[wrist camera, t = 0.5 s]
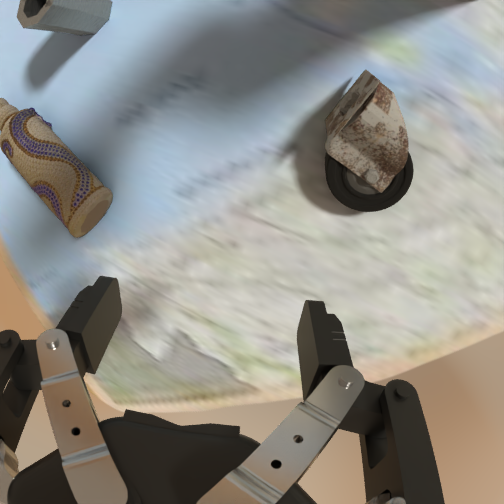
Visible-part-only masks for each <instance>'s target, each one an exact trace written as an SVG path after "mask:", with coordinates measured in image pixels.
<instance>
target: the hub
mask: <svg viewBox="0 0 504 504" xmlns="http://www.w3.org/2000/svg"><path fill="white" fill-rule="evenodd" d="M111 6H112V1H111V0H20V4H19V9H18V13H17V18H18V20H19V22H20V23H21V25H22V27H23V28H28V29H37V30H46V31H54V32H61V33H67V34H74V35H80V36H83V35H88V34H96V33H97V32H98V31H99V29H100V28H101V27H102V26H103V25H104V24H105V23H106V22H107V21H108V20H109V17H110V11H111Z"/></svg>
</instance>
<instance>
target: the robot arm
mask: <svg viewBox="0 0 504 504" xmlns="http://www.w3.org/2000/svg"><path fill="white" fill-rule="evenodd" d="M121 314H122V303H121V297H120V290H119V283H118V280H117V278H112V277H105V276H100V277H99V278H98V279H97V281H96V282H95V284H94V285H93V286H87V287H86V288H84V289H83V290H82V291H80V292H79V294H78V295H77V297H76V298H75V301H73V303H72V304H71V306H70V307H69V309H68V310H67V312H66V313H65V315H64V316H63V318H62V319H61V321H60V322H59V324H58V325H57V327H56V329H50V330H47V331H45V332H43V333H42V334H41V335H40V336H39V337H38V339H37V340H21V339H20V337H19V334H18V333H17V332H15V331H13V330H5V331H2V332H0V504H317V503H316V502H315V501H314V500H313V499H312V498H311V497H310V496H309V495H308V494H307V493H306V492H305V491H304V490H303V489H302V488H301V487H300V486H299V484H298V481H299V480H300V479H301V478H302V477H303V475H304V474H305V473H306V472H307V470H308V469H309V468H310V466H311V465H312V464H313V462H314V461H315V460H316V458H317V457H318V456H319V454H320V453H321V452H322V450H323V449H324V448H325V446H326V445H327V444H328V442H329V441H330V440H331V438H332V437H333V435H334V434H335V432H336V431H337V430H338V429H342V430H346V431H350V432H354V433H358V434H359V437H360V445H361V453H362V462H363V471H364V481H365V491H366V503H365V504H445V503H444V498H443V493H442V488H441V483H440V478H439V474H438V469H437V465H436V461H435V456H434V452H433V448H432V444H431V441H430V436H429V432H428V429H427V425H426V421H425V418H424V414H423V411H422V407H421V404H420V401H419V397H418V394H417V391H416V389H415V388H414V387H413V386H412V385H411V384H410V383H408V382H407V381H404V380H398V379H396V380H392V381H390V382H388V384H387V385H386V386H381V385H378V384H374V383H370V382H368V381H365V380H364V378H363V376H362V374H361V373H360V372H359V371H358V370H357V369H355V368H354V367H353V364H352V360H351V356H350V352H349V349H348V345H347V341H346V338H345V334H344V330H343V327H342V323H341V322H340V320H339V319H338V318H337V317H336V316H335V314H327V312H326V308H325V304H324V302H323V301H312V300H306V301H305V303H304V307H303V311H302V314H301V318H300V322H299V326H298V331H297V345H298V354H299V363H300V372H301V381H302V390H303V400H304V403H302V402H301V403H299V404H298V405H297V406H296V407H295V408H294V409H293V410H292V412H291V413H290V414H289V415H288V416H287V417H286V418H285V419H284V420H283V422H282V423H281V424H280V425H279V426H278V427H277V428H276V429H275V430H274V431H273V432H272V434H271V435H270V436H269V437H268V438H267V439H266V440H265V441H264V442H263V443H262V444H260V443H258V442H257V441H255V440H253V439H252V438H249V437H247V436H245V435H242V434H239V433H240V427H239V426H231V425H221V424H211V423H210V424H200V425H188V426H180V425H176V424H174V423H171V422H169V421H166V420H164V419H162V418H159V417H157V416H154V415H152V414H146V413H141V412H136V411H132V410H127V409H126V410H125V414H124V417H115V418H110V419H107V420H104V421H101V422H100V420H99V417H98V415H97V413H96V410H95V408H94V406H93V403H92V400H91V398H90V395H89V392H88V390H87V387H86V384H85V381H84V379H83V377H84V375H85V373H86V372H88V373H92V374H95V373H96V371H97V369H98V366H99V364H100V362H101V360H102V357H103V355H104V353H105V351H106V349H107V346H108V344H109V342H110V340H111V338H112V336H113V333H114V331H115V329H116V327H117V325H118V323H119V321H120V318H121ZM9 379H10V380H9ZM8 380H9V382H8ZM7 382H8V384H7ZM6 384H7V386H6ZM5 386H6V389H5V390H4V388H5ZM39 390H42V392H43V396H44V400H45V404H46V408H47V412H48V416H49V419H50V423H51V426H52V430H53V433H54V436H55V439H56V443H57V446H58V449H56V450H55V451H53V452H52V453H50V454H48V455H47V456H45V457H44V458H42V459H40V460H39V461H37V462H35V463H34V464H32V465H30V466H29V467H27V468H25V469H24V470H22V471H21V472H19V470H18V459H17V457H16V455H15V451H16V448H17V445H18V442H19V440H20V437H21V434H22V432H23V429H24V426H25V424H26V421H27V418H28V416H29V414H30V411H31V409H32V406H33V404H34V401H35V399H36V397H37V394H38V392H39ZM3 391H4V392H3Z"/></svg>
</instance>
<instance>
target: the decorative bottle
mask: <svg viewBox="0 0 504 504" xmlns="http://www.w3.org/2000/svg"><path fill="white" fill-rule="evenodd" d="M51 127H52V125H51V124H50V123H48V122H46V121H44V120H43V118H42V117H41V116H40V115H38V114H37V113H36V112H35V109H34V108H30V109H24V110H21V111H19V110H18V109H17V108H16V107H14V106H12V105H9V103H8V102H7V101H6V100H5V99H4V98H0V130H1V131H2V132H1V135H0V147H1V150H2V151H3V153H4V154H5V155H6V156H7V158H8V159H9V161H10V162H11V163H12V164H13V165H14V166H15V168H16V169H17V171H18V172H19V173H20V174H21V175H22V177H23V178H24V179H25V180H26V181H27V183H28V184H29V185H30V187H31V188H32V189H33V190H34V192H36V193H37V194H38V195H39V197H40V198H41V199H42V200H43V201H44V203H45V204H46V205H47V206H48V207H49V209H50V210H51V211H52V212H53V213H54V214H55V215H56V216H57V217H58V219H60V220H61V221H62V223H63V224H64V225H65V227H66V228H67V229H68V230H69V232H70V234H71V235H73V236H74V237H76V238H78V237H81V236H83V235H85V234H86V233H88V232H89V231H90V230H91V229H92V228H93V227H94V226H95V225H97V223H98V222H99V221H100V220H101V218H102V217H103V216H104V215H105V214H106V211H107V210H108V208H109V206H110V205H111V203H112V199H113V194H112V192H111V190H110V189H109V188H107V187H105V186H104V185H103V184H102V183H101V182H100V181H99V179H98V178H97V177H96V176H95V175H94V174H92V173H91V172H90V170H89V169H88V168H87V167H86V166H85V165H84V164H83V163H82V162H81V161H80V160H79V159H78V158H77V157H76V156H75V155H74V154H73V153H72V151H71V150H70V149H69V148H68V147H67V146H66V145H65V144H64V143H63V142H62V141H61V139H60V138H59V137H58V136H57V135H56V134H55V133H54V132H53V131H52V130H51Z"/></svg>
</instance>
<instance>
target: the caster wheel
mask: <svg viewBox="0 0 504 504" xmlns="http://www.w3.org/2000/svg"><path fill="white" fill-rule="evenodd" d="M325 123H326V129H327V136H328V137H327V140H326V143H325V149H326V151H327V152H326V157H325V171H326V179H327V183H328V186H329V188H330V190H331V192H332V194H333V195H334V196H335V197H336V199H337V200H339V201H340V202H341V203H342V204H344V205H345V206H347V207H349V208H351V209H354V210H358V211H363V212H374V211H380V210H383V209H386V208H388V207H390V206H392V205H394V204H395V203H397V202H398V201H399V200H400V199H401V198H402V197H403V196H404V195H405V194H406V192H407V191H408V189H409V187H410V185H411V182H412V178H413V163H412V159H411V156H410V154H409V152H408V136H407V131H406V127H405V123H404V120H403V117H402V114H401V111H400V108H399V106H398V103H397V100H396V98H395V95H394V93H393V92H392V91H391V90H390V89H388V88H387V87H386V86H385V85H383V84H382V83H381V82H380V80H378V79H377V78H376V77H375V76H373V75H372V74H371V73H370V72H369V71H367V70H365V71H364V72H363V73H362V74H361V75H360V77H359V78H358V79H357V80H356V82H355V83H354V84H353V85H352V87H351V88H350V89H349V90H348V92H347V93H346V94H345V95H344V97H343V98H342V99H341V100H340V102H339V103H338V104H337V106H336V107H335V108H334V109H333V111H332V112H331V113H330V114H329V116H328V117H327V118H326V120H325Z"/></svg>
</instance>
